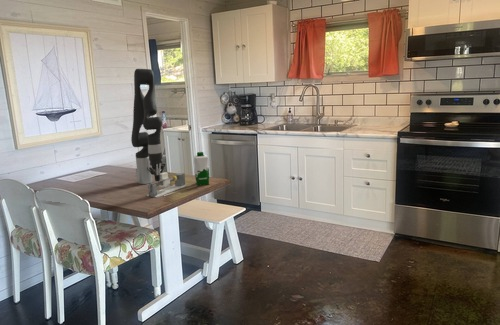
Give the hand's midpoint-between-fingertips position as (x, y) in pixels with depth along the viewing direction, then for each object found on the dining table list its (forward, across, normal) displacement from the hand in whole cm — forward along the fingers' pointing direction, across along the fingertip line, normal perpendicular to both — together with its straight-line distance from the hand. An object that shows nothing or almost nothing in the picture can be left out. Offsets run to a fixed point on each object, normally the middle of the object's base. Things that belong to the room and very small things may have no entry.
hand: (157, 181), depth 228 cm
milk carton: (+8, -29, +10) cm, 32 cm away
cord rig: (+8, -7, 0) cm, 11 cm away
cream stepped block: (+4, -5, 0) cm, 7 cm away
